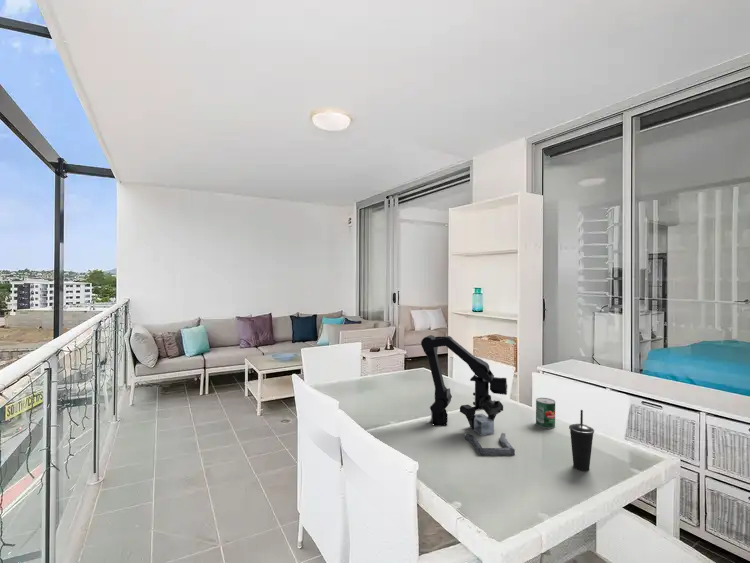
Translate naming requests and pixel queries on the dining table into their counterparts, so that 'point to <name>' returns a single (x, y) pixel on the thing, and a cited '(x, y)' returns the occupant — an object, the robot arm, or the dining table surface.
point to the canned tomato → (545, 412)
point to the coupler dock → (492, 451)
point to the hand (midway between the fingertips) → (481, 427)
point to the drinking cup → (581, 444)
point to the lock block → (483, 424)
